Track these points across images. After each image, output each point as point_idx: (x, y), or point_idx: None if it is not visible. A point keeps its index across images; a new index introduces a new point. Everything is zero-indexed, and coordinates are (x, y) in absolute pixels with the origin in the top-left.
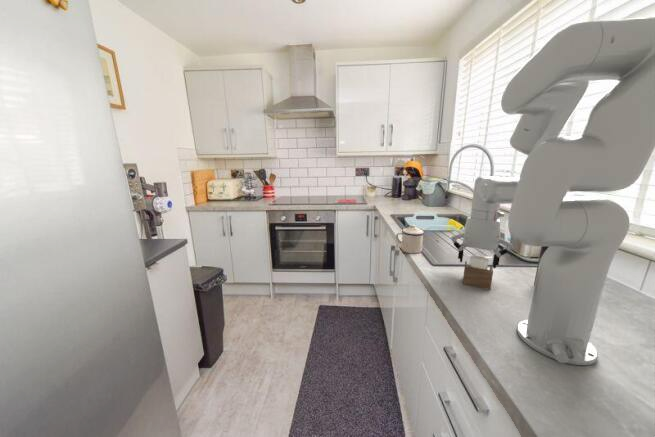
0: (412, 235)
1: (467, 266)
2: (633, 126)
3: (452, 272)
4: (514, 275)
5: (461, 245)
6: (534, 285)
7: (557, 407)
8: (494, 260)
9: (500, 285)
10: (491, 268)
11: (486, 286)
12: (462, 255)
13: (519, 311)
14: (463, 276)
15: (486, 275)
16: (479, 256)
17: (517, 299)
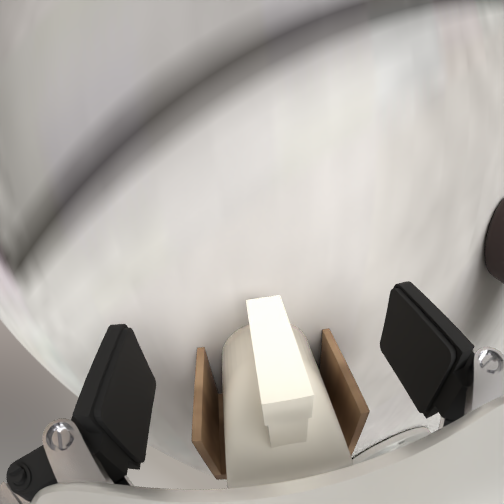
0: None
1: (226, 476)
2: None
3: (124, 312)
4: (453, 137)
5: (71, 472)
6: (487, 243)
7: None
8: (408, 392)
9: (373, 321)
10: (353, 440)
11: None
12: (144, 436)
13: (373, 426)
14: (197, 356)
15: None
16: (296, 460)
17: (394, 383)
